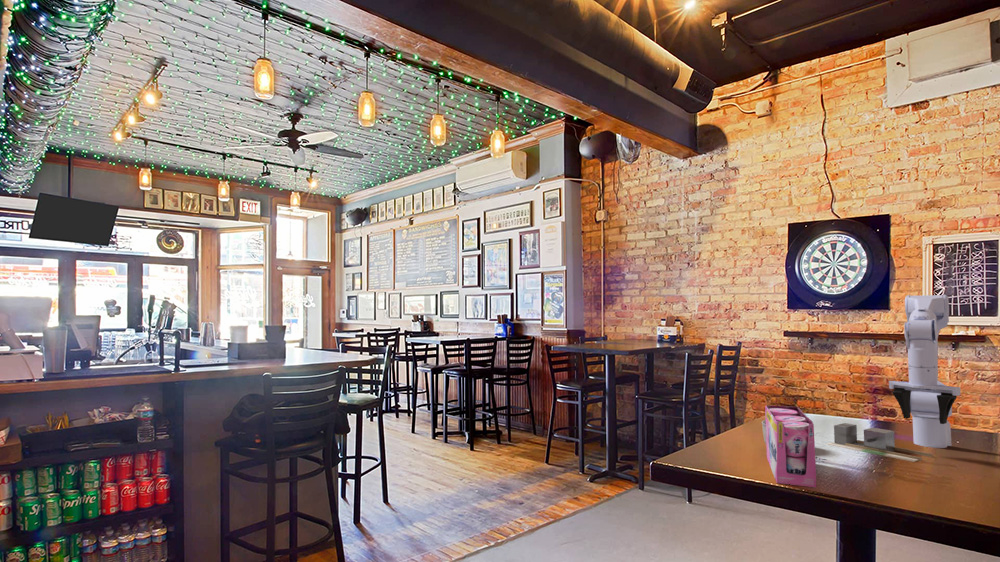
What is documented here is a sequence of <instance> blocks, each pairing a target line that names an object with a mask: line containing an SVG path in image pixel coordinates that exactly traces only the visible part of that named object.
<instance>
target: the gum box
mask: <svg viewBox="0 0 1000 562" xmlns="http://www.w3.org/2000/svg"><path fill="white" fill-rule="evenodd" d="M764 408H765V409H764V410H765V411H764V412H765V413H764V415H765V420H766V444H765V445H766V458H767V462H768V463H769V467H770V469H771V472H772V474H773V477H774V480H775V483H776V484H782V485H789V484H790V485H791V486H799V487H808V488H809V487H810V488H817V469H816V467H817V466H816V446H815V445H816V444H815V427H814V426H815V425H814V422H813V420H812V419H810V418H809V417H808V416H807V415H806V414H805V413H804V412H803V411H802V409H800V408H799V406H785V405H770V404H769V405H766V404H765V407H764Z"/></svg>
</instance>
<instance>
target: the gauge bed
mask: <svg viewBox="0 0 1000 562" xmlns="http://www.w3.org/2000/svg"><path fill="white" fill-rule="evenodd" d="M857 429H858V428H857V424H852V423H846V422H843V423H840V424H839V423H838V424H835V425H833V435H834V437H833V438H834V441H833V442H828V443H826V444H827V445H828V446H832V447H836V448H837V447H838V448H843V449H848V450H853V451H857V452H862V453H867V454H871V455H877V456H881V457H887V458H893V459H896V460H902V461H906V462H907V461H908V462H913V463H915V462H922V461H923V459H922V457H919V456H924V457H928V458H933V453H929V452H925V451H918V450H913V449H908V448H903V447H898V446H895V451H897V452H895V451H891V452H890V451H885V450H880V449H874V448H869V447H864V440H858V430H857ZM858 444H860V445H858ZM900 452H902V453H900ZM906 453H907V454H906ZM909 454H911V455H909ZM912 454H913V455H912ZM917 455H918V456H917Z"/></svg>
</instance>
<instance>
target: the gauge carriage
mask: <svg viewBox="0 0 1000 562" xmlns="http://www.w3.org/2000/svg"><path fill="white" fill-rule="evenodd" d="M863 441H864V444H863V446H864V447H869V448H874V449H880V450H885V451H890V452H895V451H896V450H895V447H896V446H895V445H896V444H895V431H894V430H890V429H882V428H878V427H870V428H865V429H863Z"/></svg>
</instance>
